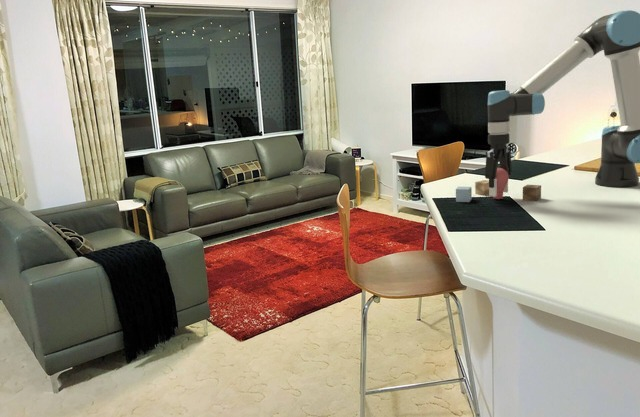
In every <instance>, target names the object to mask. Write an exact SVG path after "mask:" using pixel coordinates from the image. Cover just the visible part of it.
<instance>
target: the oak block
mask: <svg viewBox="0 0 640 417" xmlns="http://www.w3.org/2000/svg"><path fill="white" fill-rule="evenodd" d="M474 185H475V186H474V188H475V189H474V190H475V191H474V192H475V194H476V195H480V196H484V195H485V196H488V195H489V179H484V180H483V179H482V180H477V181H475V182H474Z"/></svg>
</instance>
